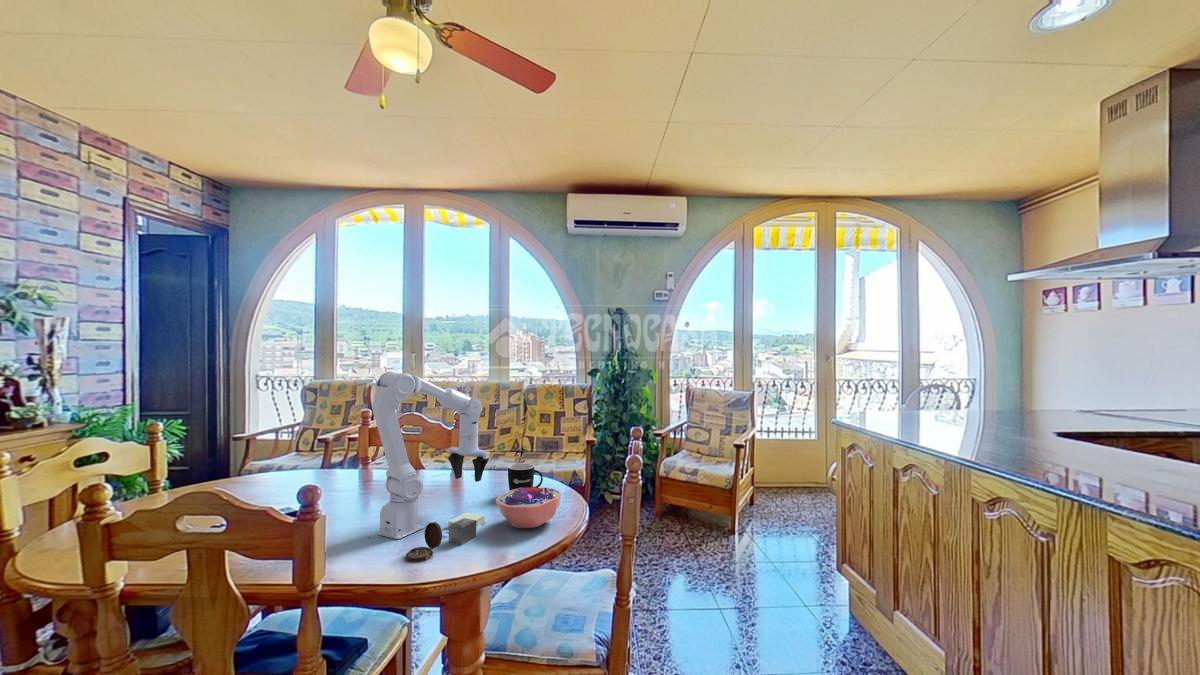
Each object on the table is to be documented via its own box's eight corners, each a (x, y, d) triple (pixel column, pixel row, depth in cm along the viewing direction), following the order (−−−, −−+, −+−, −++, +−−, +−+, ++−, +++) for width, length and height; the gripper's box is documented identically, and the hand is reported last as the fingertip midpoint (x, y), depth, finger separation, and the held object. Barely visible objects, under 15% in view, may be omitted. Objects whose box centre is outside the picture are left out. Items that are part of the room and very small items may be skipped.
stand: (466, 531, 134) (466, 524, 135) (448, 527, 137) (448, 520, 137) (484, 521, 142) (484, 515, 142) (466, 518, 144) (466, 512, 145)
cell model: (574, 522, 142) (575, 483, 142) (520, 543, 127) (521, 499, 127) (537, 509, 153) (537, 473, 153) (483, 526, 138) (483, 486, 138)
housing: (461, 545, 125) (461, 526, 125) (448, 543, 127) (448, 524, 127) (476, 537, 131) (476, 519, 131) (463, 534, 132) (464, 517, 132)
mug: (508, 501, 161) (508, 470, 161) (506, 493, 170) (506, 463, 170) (544, 498, 164) (544, 468, 164) (540, 490, 173) (541, 462, 173)
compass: (400, 558, 118) (400, 528, 118) (428, 547, 124) (428, 518, 124) (419, 567, 113) (420, 535, 113) (448, 555, 119) (448, 525, 120)
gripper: (495, 435, 152) (495, 479, 152) (458, 431, 158) (458, 473, 158) (481, 439, 146) (480, 484, 145) (443, 435, 151) (443, 479, 151)
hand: (468, 479), depth 151 cm, fingers open, 7 cm apart
